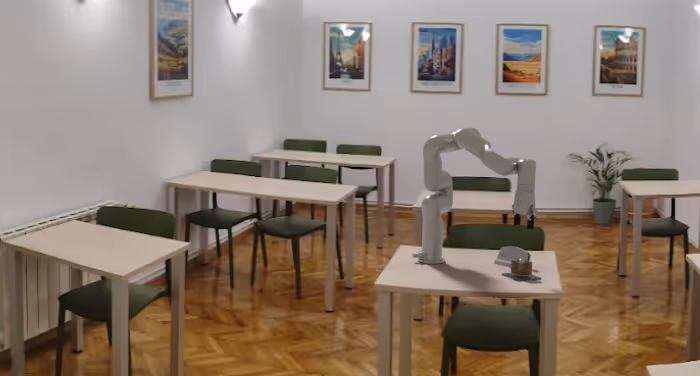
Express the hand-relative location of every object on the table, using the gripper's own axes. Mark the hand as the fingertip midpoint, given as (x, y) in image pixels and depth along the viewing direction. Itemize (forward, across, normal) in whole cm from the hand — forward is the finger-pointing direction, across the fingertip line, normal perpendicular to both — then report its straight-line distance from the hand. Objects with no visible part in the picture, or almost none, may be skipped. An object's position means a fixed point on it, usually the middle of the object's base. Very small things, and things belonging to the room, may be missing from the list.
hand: (523, 227), depth 344 cm
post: (+22, 0, 0) cm, 22 cm away
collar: (+21, 0, 0) cm, 21 cm away
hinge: (+23, -19, +9) cm, 31 cm away
